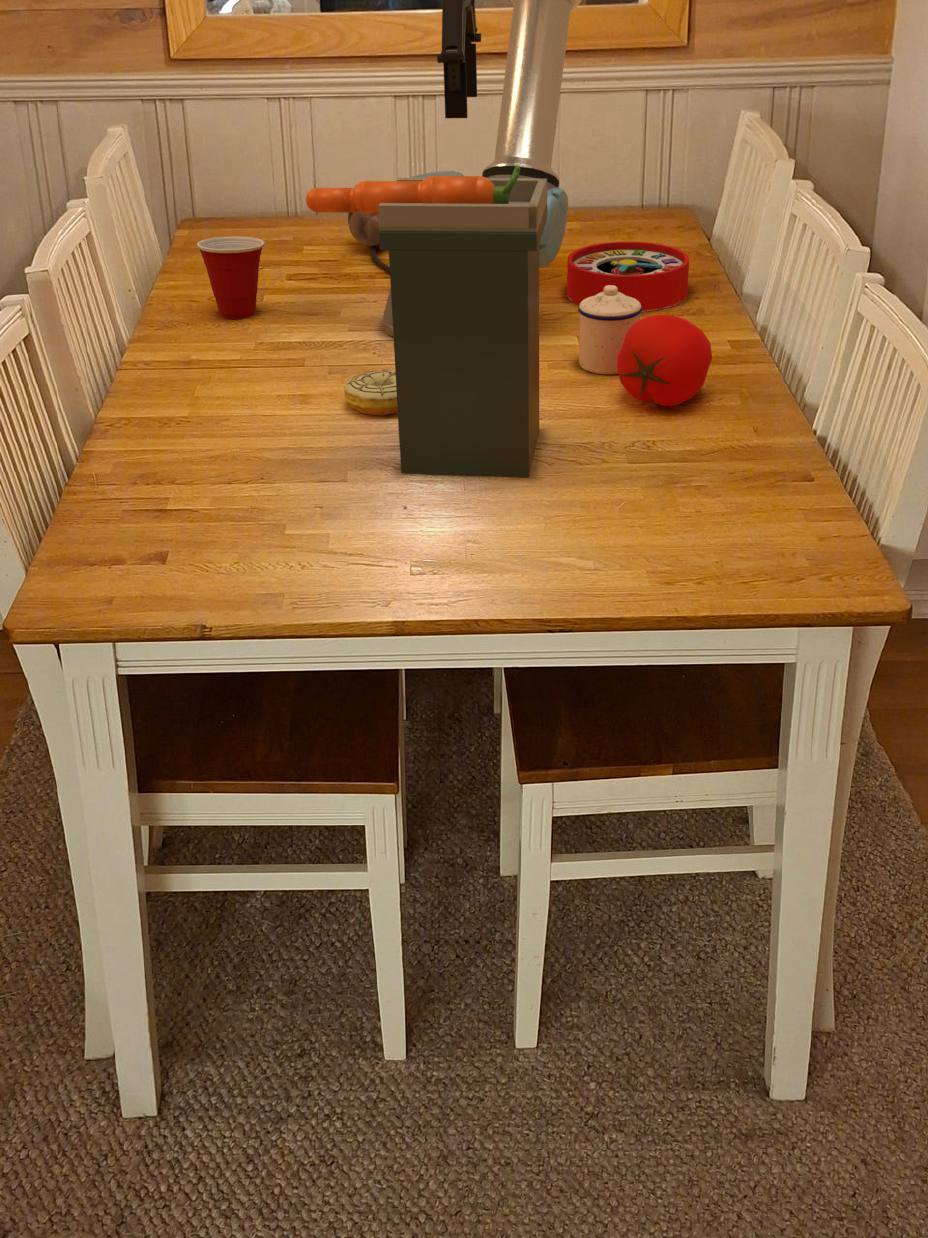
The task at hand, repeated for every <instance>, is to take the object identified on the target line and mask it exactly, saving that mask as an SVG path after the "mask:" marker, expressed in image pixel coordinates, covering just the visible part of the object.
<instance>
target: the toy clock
mask: <svg viewBox="0 0 928 1238" xmlns="http://www.w3.org/2000/svg"><path fill="white" fill-rule="evenodd" d="M566 261H567V262H566V263H567V264H566V296H567V299H569V300H570V301H571V302H573V303H574V304H576V305H580V303H581V302H582V301H583V300H584V299H586V298H588V297H592V296H595V295H597V294H598V293H601V292H603V290H604V287H605V286H608V285H614V286H616V287H617V288H618V292H620V293H622V294H624V295H626V296H629V297H632V298H635V299H636V300H638V301H639V302H640V304H641V307H642V311H641V313H645V312H653V311H660V310H664V309H668V308H672V307H674V306H677V305H679V304H681V303H682V302H684V301H685V300H686V299H687V298H688V294H689V293H688V292H689V275H690V274H689V273H690V256H689V255H688V253H686V252H685V251H683V250H682V249H680V248H677V247H674V246H671V245H667V244H663V243H655V242H647V241H609V242H608V241H607V242H601V243H595V244H590V245H586V246H583V247H579V248H577V249H575V250H574V251H572V252H570V253H569V255H568V256H567V259H566Z"/></svg>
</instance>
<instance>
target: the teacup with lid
mask: <svg viewBox="0 0 928 1238" xmlns="http://www.w3.org/2000/svg"><path fill="white" fill-rule="evenodd" d="M577 311H578V312H579V339H578V340H579V341H578V342H579V343H578V345H579V347H578V351H579V352H578V359H579V360H578V365H579V366H580V367H581V368H582V369H583V370H585V371H587V372H589V373H593V374H597V375H619V373H618V368H617V362H618V354H619V352H620V350H621V348H622V345H623V342H624V339H625V336H626V334H627V332H628V330H629V328H630V327H631V326H632V325H633V324H634V323H635V322H637V321H639V320H640V319H641V313H642V312H641V311H642V307H641V304H640V302H639V301H638V300H636V299H635V298H632V297H629V296H626V295H624V294H622V293H620V292H618V288H617V287H616V286H614V285H608V286H605V287H604V290H603V292H601V293H598V294H597V295H595V296H592V297H588V298H586V299H584V300H583V301H582V302H581V303H580V305H579V306H578V307H577Z"/></svg>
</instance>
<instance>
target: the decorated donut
mask: <svg viewBox="0 0 928 1238" xmlns="http://www.w3.org/2000/svg"><path fill="white" fill-rule="evenodd" d="M344 397H345V400H346V401H347V403H348V404H349V406H350V407H351V408H352V409H354V410H356V411H357V412H359V413H362V414H364V415H371V416H380V417H381V416H382V417H383V416H386V415H391V414H398V409H397V391H396V373H395V369H383V370H372V371H368V372H365V373H361V374H358V375H355V376H353V377H352V378H350V379H348V380H347V381H346V382H345V383H344Z"/></svg>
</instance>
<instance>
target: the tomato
mask: <svg viewBox="0 0 928 1238" xmlns="http://www.w3.org/2000/svg"><path fill="white" fill-rule="evenodd" d="M712 360H713V352H712V345H711V342H710V340H709V338H708V337H707V335H706V334H705V332H704V330H702V329H701V328H699V327H698V326H697V325H696V324H693V322H690V321H689V320H687V319H686V318H684V317H680V316H676V315H673V314H653V315H649V316H646V317H642V318H640V320H639V321H637V322H635V323H634V324H633V325H632V326H631V327H630V328H629V330H628V332H627V334H626V336H625V339H624V342H623V345H622V348H621V350H620V352H619V354H618V362H617V368H618V373H619V374H618V376H619V381H620V384H621V385H622V387H623V388H624V389H625V390H626V392H627V394H629V395H630V396H631V397H632V399H634V400H638V401H640V402H643V403H656V404H657V405H659V406H665V407H671V408H672V407H673V408H674V407H676V406H677V405H680V404H682V403H685V402H686V401H689V400H691V399H692V398H693V397H694V396H696V394H697V393H698V392H699V391H700V390H701V389H702V388H703V386H704V384H705V381H706V378H707V375H708V372H709V370H710V369H709V368H710V366H711V362H712Z"/></svg>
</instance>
